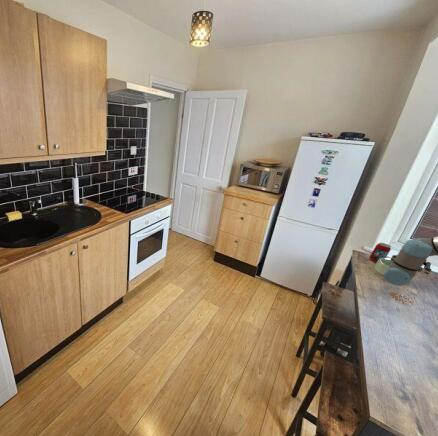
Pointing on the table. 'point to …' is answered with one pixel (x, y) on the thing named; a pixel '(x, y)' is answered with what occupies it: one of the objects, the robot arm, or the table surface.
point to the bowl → (382, 265)
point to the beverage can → (380, 252)
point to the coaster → (401, 298)
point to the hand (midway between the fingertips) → (418, 256)
